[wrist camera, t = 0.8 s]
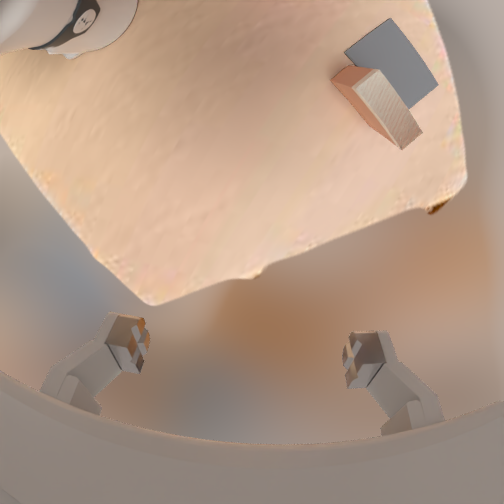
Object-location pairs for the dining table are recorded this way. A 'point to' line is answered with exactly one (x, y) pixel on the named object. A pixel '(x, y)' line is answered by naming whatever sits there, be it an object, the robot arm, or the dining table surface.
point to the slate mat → (394, 62)
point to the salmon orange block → (378, 104)
